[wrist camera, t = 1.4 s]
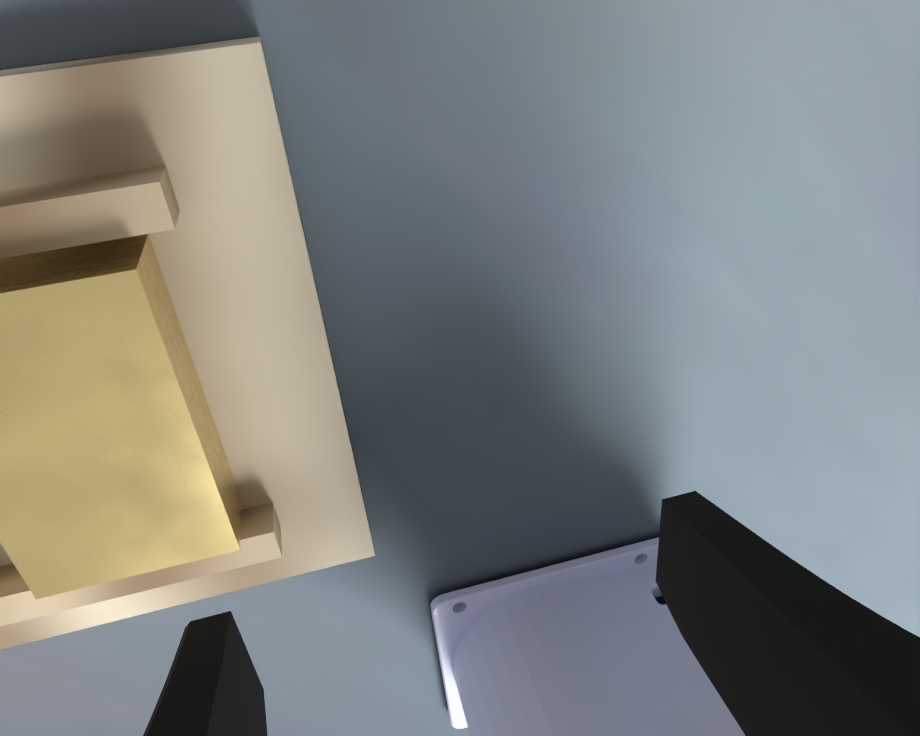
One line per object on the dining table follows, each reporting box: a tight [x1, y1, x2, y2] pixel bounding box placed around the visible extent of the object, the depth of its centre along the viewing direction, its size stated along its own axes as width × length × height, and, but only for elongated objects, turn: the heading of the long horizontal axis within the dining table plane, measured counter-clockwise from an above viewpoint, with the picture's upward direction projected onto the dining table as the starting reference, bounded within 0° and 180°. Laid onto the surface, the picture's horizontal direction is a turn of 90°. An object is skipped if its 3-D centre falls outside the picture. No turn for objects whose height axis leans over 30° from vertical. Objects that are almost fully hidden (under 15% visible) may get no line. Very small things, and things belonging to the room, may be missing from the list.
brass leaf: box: [0, 234, 241, 599], centre depth 16 cm, size 7×8×2 cm
